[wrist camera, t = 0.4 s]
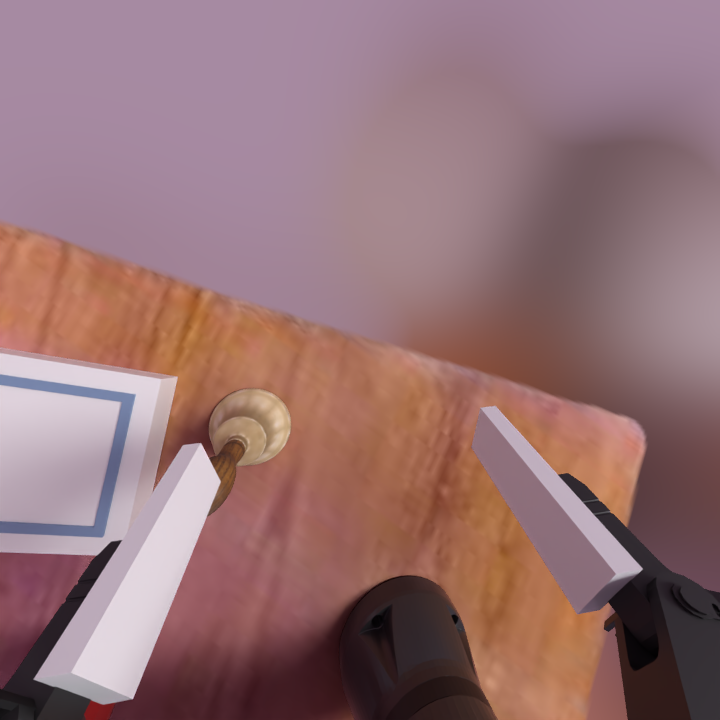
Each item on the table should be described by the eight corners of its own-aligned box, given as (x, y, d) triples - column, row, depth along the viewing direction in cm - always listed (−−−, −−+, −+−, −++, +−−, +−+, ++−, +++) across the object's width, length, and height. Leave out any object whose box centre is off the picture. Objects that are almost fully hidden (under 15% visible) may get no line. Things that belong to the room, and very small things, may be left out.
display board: (143, 533, 25) (120, 557, 22) (-64, 522, 22) (-125, 550, 19) (177, 376, 26) (160, 379, 23) (-20, 344, 23) (-72, 341, 20)
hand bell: (302, 402, 29) (296, 456, 13) (275, 473, 28) (234, 619, 12) (227, 377, 27) (117, 403, 11) (197, 452, 26) (37, 588, 11)
